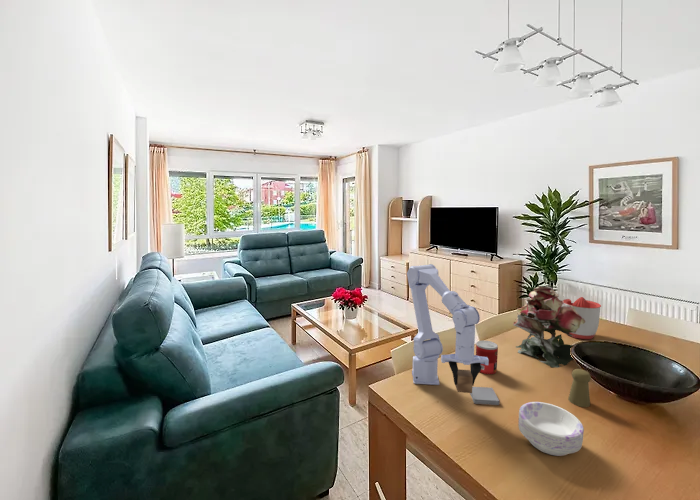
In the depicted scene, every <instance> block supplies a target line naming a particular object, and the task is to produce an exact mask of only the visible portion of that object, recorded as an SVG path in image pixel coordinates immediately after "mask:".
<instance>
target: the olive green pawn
mask: <svg viewBox="0 0 700 500" xmlns="http://www.w3.org/2000/svg"><path fill="white" fill-rule="evenodd" d="M571 377H572V382H571V387H570V391H569V394H568V401H569V403H571V404H573V405H575V406H577V407H580V408H588V407H591V399H590V385H589V383H590V382H591V379H592V376H591V374H590V372H589V371H587V370H585V369H581V368H575V369H573V370H572V372H571Z"/></svg>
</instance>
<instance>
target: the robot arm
mask: <svg viewBox="0 0 700 500" xmlns="http://www.w3.org/2000/svg"><path fill="white" fill-rule="evenodd" d="M406 275H407V282H408V286H409V289H410V292H411V297H412V303H413V304H412V305H413V309H414V314H415V320H416V326H417V330H418V332H417V334H415V336H414V337H413V349H412V350H413V353H414V355H413V356H412V370H411V376H412V381H413V384H415V385H432V386H433V385H434V386H439V385H440V380H439V377H438V362H439V358H440V361H441V363H443V364H445V363H448V364H449V365H448V366H449V368H450V371H451V373H452V377H453V383H454V385H457V373H458V369H459V367H458V364H462V365H464V366H470V369H469V370H470V372H471V374H472V376H473V385H472V387H475V385H474V384H475V381H476V379H477V377H478V375H479V373H481V372H480V371H481V364H485V365H488V363H489V360H488V358H487V357H482V356H476V354H475V344H476V343H475V341H476V340H475V338H476V325H477V324H478V325H479V322H480V319H481V317H480V313H479V311H478V309H477V308H476V307H475V306H473V305H472V306H471V305H470V304H467V303H466V302H465V301H464V300H463V298H461V296H460V295H459V293H458V292H456V291H454V290H450V289H449V287H448V286H447V285H446V284H445V282H444V280H443V279H442V278H441V277H440V276H439V269H438V268H437V267H436V266H435V265H434V264H432V263H430V264H423V265H411V266H410V267H409V268H408V269H407V272H406ZM428 286H431V288H433V290H434V291H435V292H436V293H438V295H439V296H440V297H441V304H442V305H444V306H445V308H446V309H447V310H448V311H449V313H450V314H451V315H452V321H453V323H454V329H455V330H454V331H455V351H454V352H455V353H450V354H443V352H444V351H443V349H444V347H443V343H442V342H441V339H440V335H439V334H438V333H436V332H435V331H434V330H433V326H432V321H431V315H430V310H429V305H428V299H427V294H426V290H427V288H428Z"/></svg>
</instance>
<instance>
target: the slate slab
mask: <svg viewBox="0 0 700 500" xmlns="http://www.w3.org/2000/svg"><path fill="white" fill-rule="evenodd" d="M493 388H494V387H484V386H472V393H469V394H470V395H469V396H470V397H471V399H472V402H473V404H475V405H476V404H477V405H491V406H500V400H499V398H498V396H497V394H496V392H495V390H494V389H493Z"/></svg>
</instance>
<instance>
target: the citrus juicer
mask: <svg viewBox="0 0 700 500" xmlns="http://www.w3.org/2000/svg"><path fill="white" fill-rule="evenodd" d="M562 301H563V302H564V303H563V304H568V305H570V306H573V307H574V308H575V310H576V312H577V313H578V314H579V315H580V316H581V317H582V318H584V320H585V323H584V324H580V328H578V329H577V331H576V333H574V332H572V333H569V334H571V335H574V336H570V335H568V336H569V337H572V338H574V339H582V340H592V339H593V338H594V337H595V335H596V334H597V331H598V328H599V323H600V315H601V307H602V305H601V303H599V302H595V301H592V300H586V299H585V298H584V297H583V296H580V297H579V298H577V299H576V300H575V301H574V302H572V300H571V299H570V298H567V299H563V300H562ZM575 336H576V337H575Z"/></svg>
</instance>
